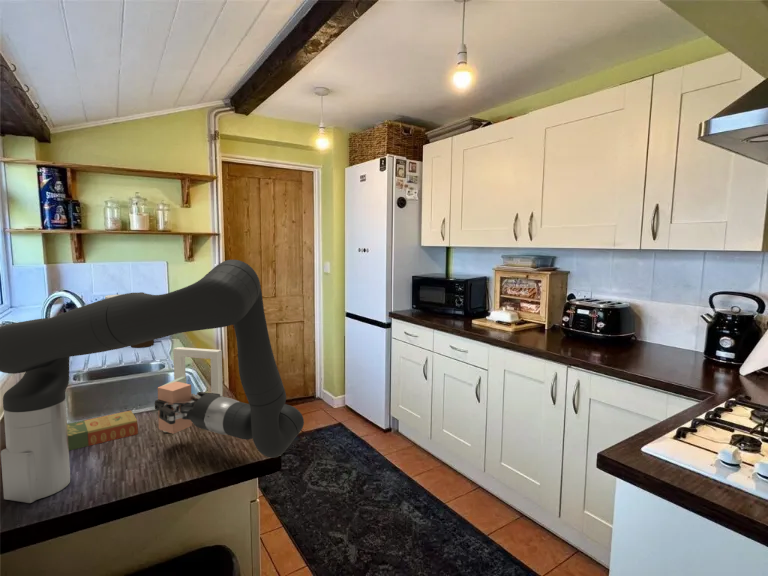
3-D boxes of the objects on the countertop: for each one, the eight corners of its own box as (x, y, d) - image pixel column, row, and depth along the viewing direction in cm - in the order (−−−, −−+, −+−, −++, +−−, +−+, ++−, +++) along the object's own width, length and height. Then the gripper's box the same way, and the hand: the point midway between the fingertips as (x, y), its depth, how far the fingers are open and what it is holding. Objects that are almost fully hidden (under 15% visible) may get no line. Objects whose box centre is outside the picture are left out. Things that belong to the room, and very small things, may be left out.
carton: (138, 435, 106) (137, 419, 106) (58, 455, 96) (57, 437, 96) (132, 424, 113) (131, 409, 112) (56, 441, 103) (55, 424, 102)
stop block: (173, 433, 96) (172, 391, 95) (158, 429, 98) (157, 387, 97) (192, 425, 100) (191, 384, 99) (177, 421, 102) (176, 381, 101)
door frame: (218, 424, 113) (217, 351, 111) (175, 420, 115) (173, 348, 113) (223, 421, 115) (221, 350, 113) (180, 417, 117) (178, 347, 115)
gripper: (243, 388, 98) (192, 376, 105) (191, 408, 85) (137, 394, 93) (243, 419, 99) (192, 405, 106) (192, 444, 86) (138, 426, 93)
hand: (167, 400), depth 99 cm, fingers closed on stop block, 5 cm apart
